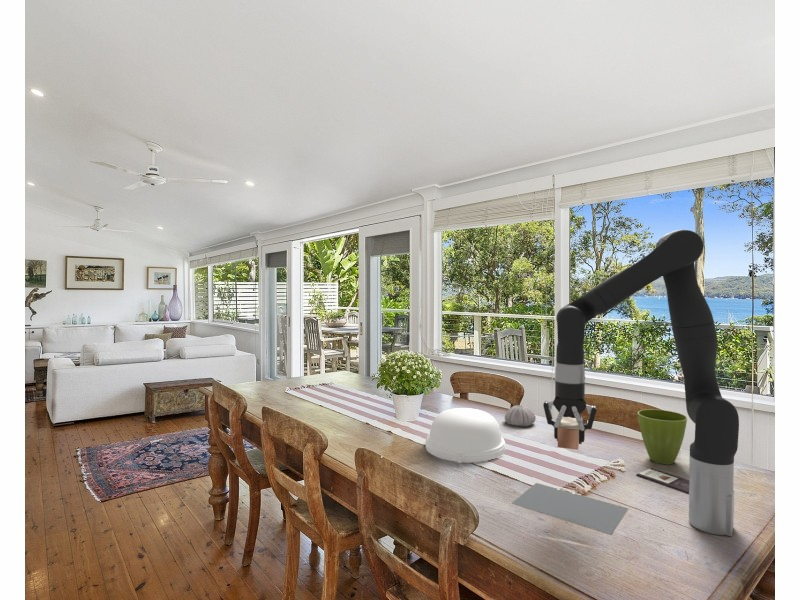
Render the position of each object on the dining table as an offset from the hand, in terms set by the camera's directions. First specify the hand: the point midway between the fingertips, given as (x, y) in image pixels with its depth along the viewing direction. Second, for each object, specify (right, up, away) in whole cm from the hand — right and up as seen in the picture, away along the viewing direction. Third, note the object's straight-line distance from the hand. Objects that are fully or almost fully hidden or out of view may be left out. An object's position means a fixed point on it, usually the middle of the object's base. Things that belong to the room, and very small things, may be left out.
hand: (569, 441), depth 125 cm
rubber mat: (0, -18, +1) cm, 18 cm away
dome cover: (-21, -18, +49) cm, 56 cm away
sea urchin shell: (+7, -16, +79) cm, 81 cm away
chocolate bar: (+38, -18, +17) cm, 46 cm away
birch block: (+3, +3, +6) cm, 7 cm away
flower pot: (+45, -17, +35) cm, 60 cm away
